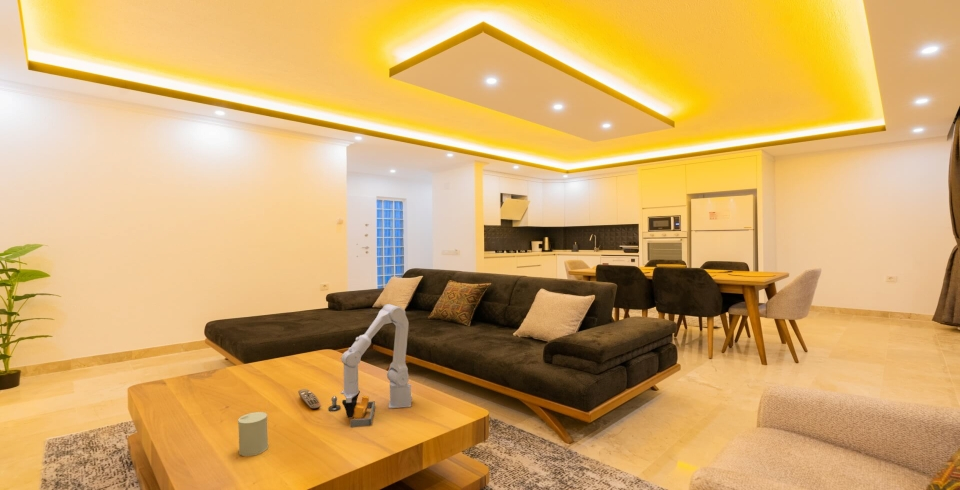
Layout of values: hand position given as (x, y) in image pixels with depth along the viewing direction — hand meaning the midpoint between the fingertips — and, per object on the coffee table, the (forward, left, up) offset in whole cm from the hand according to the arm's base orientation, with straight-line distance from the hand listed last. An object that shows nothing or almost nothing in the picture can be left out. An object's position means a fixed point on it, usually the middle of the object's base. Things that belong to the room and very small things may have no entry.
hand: (351, 413), depth 178 cm
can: (+30, +21, -2) cm, 37 cm away
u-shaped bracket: (-4, 0, -2) cm, 5 cm away
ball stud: (+8, -10, -2) cm, 13 cm away
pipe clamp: (-3, +1, -2) cm, 3 cm away
